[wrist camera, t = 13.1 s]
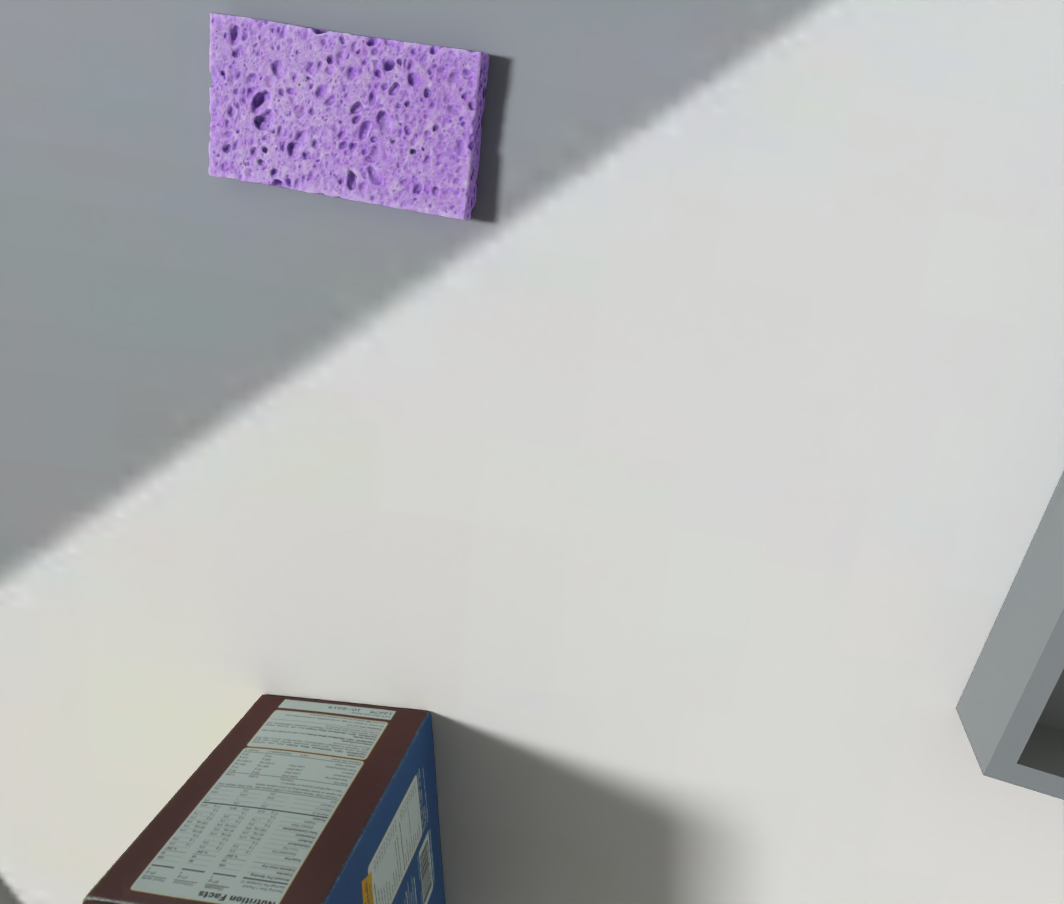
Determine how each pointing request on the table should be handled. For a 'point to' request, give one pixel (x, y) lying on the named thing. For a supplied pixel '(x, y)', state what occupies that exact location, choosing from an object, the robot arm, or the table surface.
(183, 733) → the table surface
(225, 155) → the sponges
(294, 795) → the protein box
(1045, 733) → the tray
